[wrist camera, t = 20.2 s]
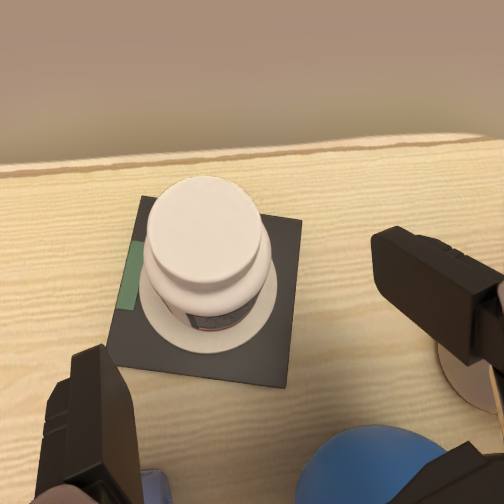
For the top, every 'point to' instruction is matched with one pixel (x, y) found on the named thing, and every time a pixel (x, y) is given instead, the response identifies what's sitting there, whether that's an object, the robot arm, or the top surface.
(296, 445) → the top surface
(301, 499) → the blue mole toy
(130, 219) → the top surface
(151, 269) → the pill bottle
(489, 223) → the top surface
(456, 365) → the cup
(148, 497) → the decorative dice
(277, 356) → the scale
